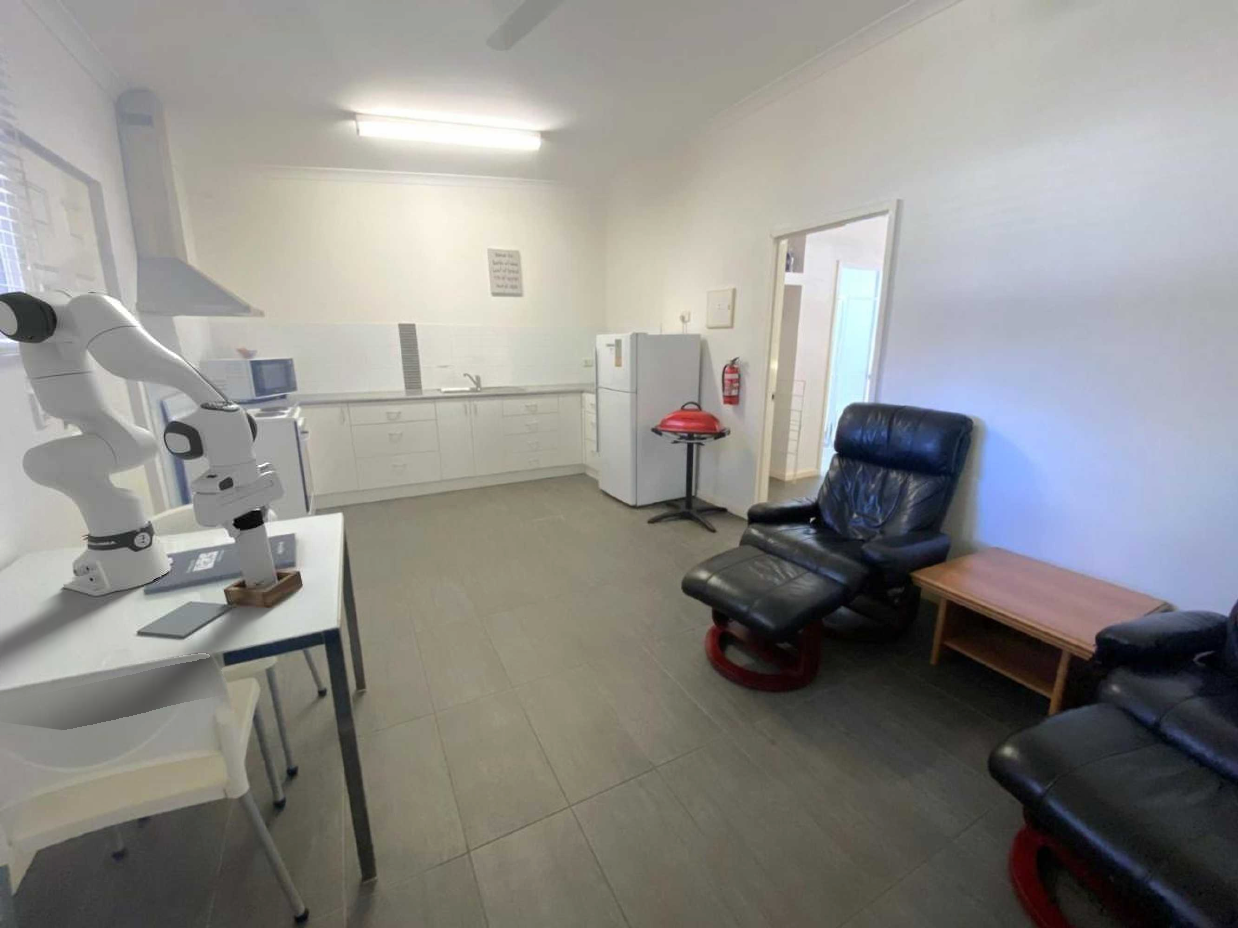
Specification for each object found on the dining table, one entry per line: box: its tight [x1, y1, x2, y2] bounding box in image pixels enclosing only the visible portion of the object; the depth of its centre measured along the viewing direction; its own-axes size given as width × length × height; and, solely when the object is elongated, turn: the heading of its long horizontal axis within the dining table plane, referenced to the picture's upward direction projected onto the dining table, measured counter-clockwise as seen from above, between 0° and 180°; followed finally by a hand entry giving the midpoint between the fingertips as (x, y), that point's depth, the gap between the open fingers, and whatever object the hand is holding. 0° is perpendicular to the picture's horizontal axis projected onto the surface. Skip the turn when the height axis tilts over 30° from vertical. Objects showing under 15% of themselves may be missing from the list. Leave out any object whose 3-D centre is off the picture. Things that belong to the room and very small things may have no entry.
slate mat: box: [136, 600, 235, 639], centre depth 115 cm, size 12×12×1 cm
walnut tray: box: [222, 568, 303, 609], centre depth 124 cm, size 11×10×4 cm
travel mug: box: [232, 509, 278, 590], centre depth 122 cm, size 6×7×20 cm
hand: (249, 529), depth 120 cm, fingers closed on travel mug, 6 cm apart
